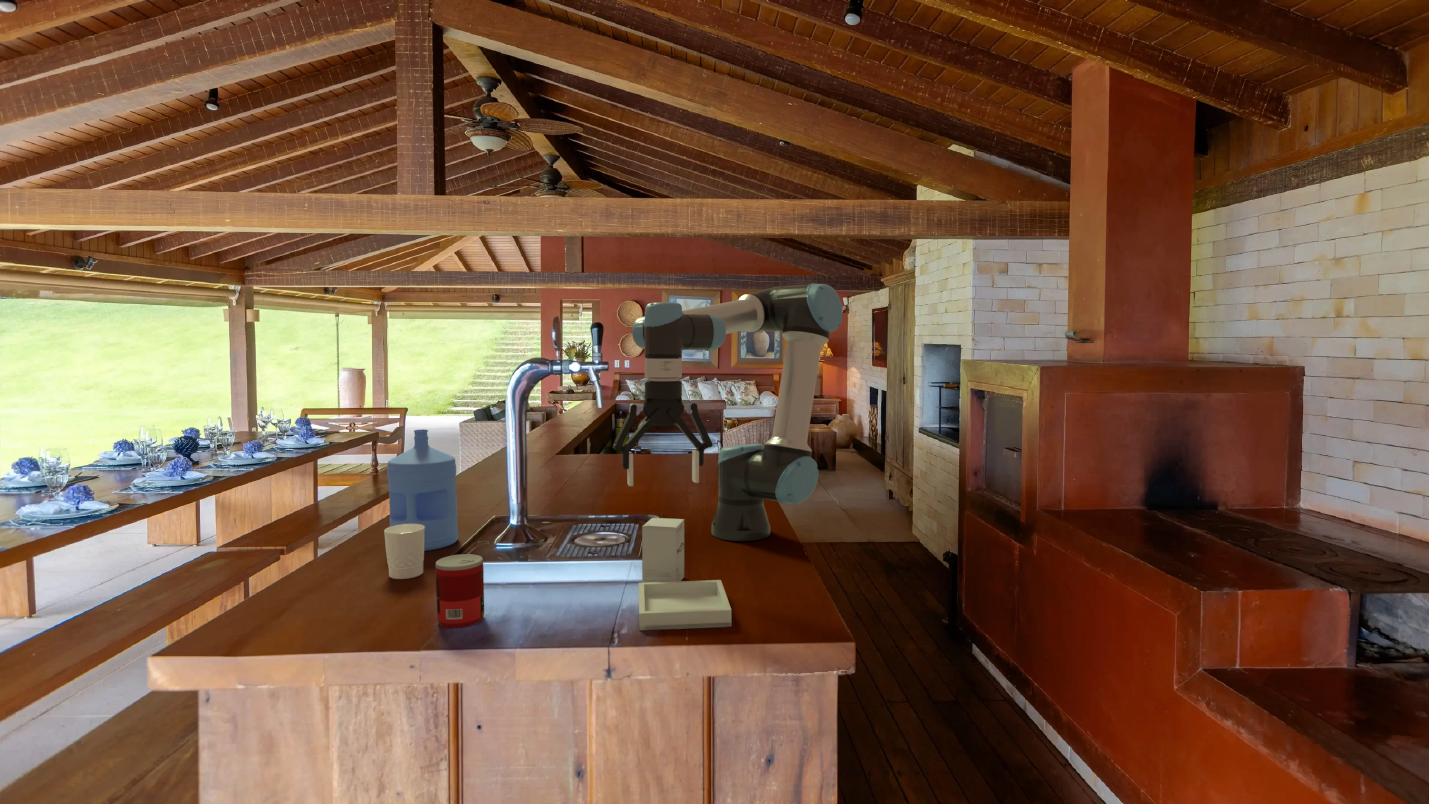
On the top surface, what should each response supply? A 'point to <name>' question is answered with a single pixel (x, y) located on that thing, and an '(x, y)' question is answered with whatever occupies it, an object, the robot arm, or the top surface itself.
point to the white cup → (405, 550)
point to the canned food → (460, 590)
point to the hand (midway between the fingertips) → (663, 483)
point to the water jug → (424, 492)
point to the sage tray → (683, 605)
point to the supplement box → (663, 550)
